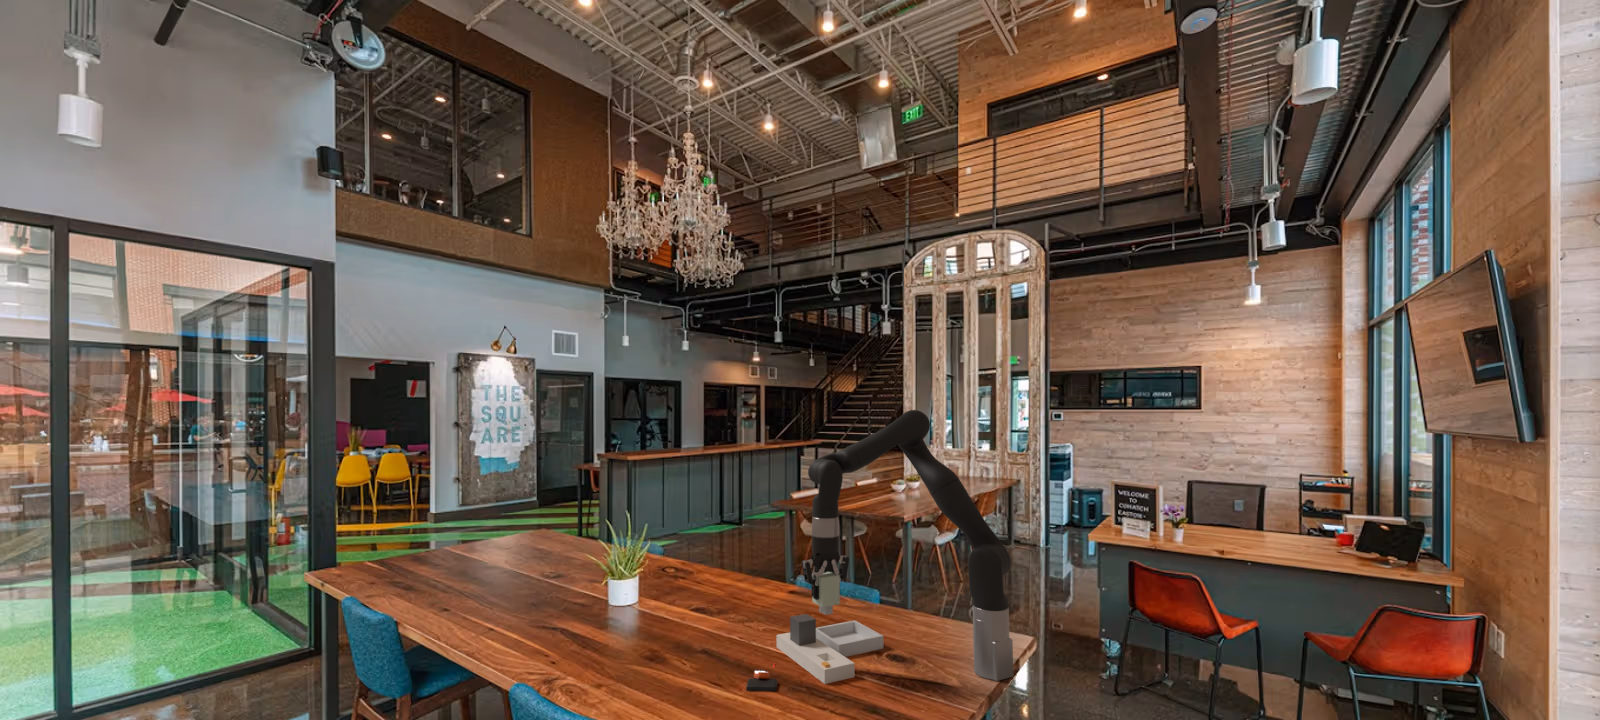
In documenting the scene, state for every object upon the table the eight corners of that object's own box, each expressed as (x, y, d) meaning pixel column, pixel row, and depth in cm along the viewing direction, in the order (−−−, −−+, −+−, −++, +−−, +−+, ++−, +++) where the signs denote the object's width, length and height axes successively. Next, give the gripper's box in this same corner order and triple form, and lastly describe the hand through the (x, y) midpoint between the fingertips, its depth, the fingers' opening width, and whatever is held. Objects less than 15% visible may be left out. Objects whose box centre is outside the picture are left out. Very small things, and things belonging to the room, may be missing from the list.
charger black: (815, 651, 176) (815, 619, 177) (799, 655, 173) (799, 622, 174) (806, 645, 181) (806, 613, 181) (790, 648, 178) (790, 616, 179)
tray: (883, 648, 181) (883, 635, 181) (839, 658, 174) (838, 644, 174) (854, 632, 194) (854, 620, 194) (812, 640, 187) (812, 628, 187)
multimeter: (742, 662, 172) (742, 649, 172) (785, 664, 170) (785, 651, 171) (727, 692, 154) (727, 678, 154) (775, 695, 153) (775, 680, 153)
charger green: (839, 613, 166) (839, 575, 166) (822, 617, 163) (822, 578, 164) (829, 608, 170) (829, 571, 171) (812, 611, 168) (812, 573, 169)
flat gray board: (854, 676, 161) (854, 660, 162) (824, 684, 157) (824, 667, 158) (803, 641, 186) (803, 627, 186) (776, 647, 182) (776, 632, 182)
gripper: (809, 538, 162) (809, 605, 160) (855, 533, 169) (855, 597, 167) (795, 533, 168) (795, 597, 167) (840, 528, 175) (841, 590, 174)
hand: (825, 597), depth 167 cm, fingers closed on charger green, 5 cm apart
